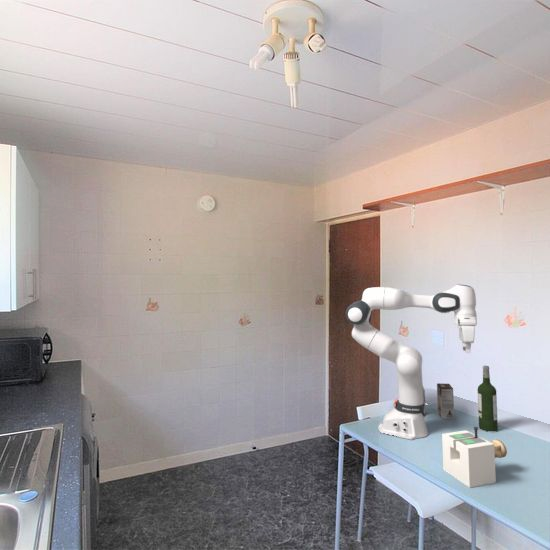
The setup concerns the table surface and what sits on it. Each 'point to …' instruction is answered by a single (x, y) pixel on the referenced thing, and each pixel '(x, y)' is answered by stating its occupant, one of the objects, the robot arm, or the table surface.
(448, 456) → the tuner housing
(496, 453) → the peg
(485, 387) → the wine bottle
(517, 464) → the table surface
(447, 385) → the coffee box
